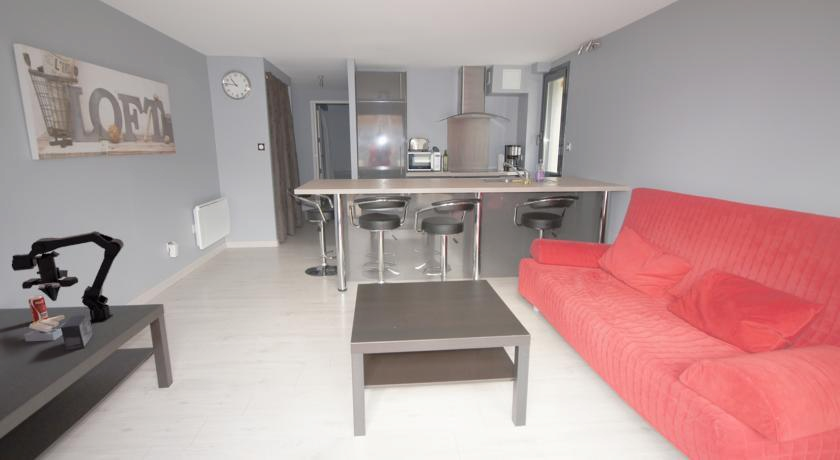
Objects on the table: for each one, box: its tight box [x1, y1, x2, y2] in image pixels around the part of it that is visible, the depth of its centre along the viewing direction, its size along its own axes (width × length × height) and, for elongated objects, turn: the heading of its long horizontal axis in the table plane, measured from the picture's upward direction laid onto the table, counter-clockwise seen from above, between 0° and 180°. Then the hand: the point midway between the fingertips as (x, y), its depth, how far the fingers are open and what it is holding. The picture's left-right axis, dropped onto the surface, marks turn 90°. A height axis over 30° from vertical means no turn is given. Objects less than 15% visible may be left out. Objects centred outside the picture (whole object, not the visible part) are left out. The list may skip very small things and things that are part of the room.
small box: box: [61, 313, 95, 351], centre depth 167 cm, size 11×6×10 cm, turn 21°
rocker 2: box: [37, 319, 60, 328], centre depth 174 cm, size 7×2×2 cm, turn 96°
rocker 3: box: [46, 314, 66, 322], centre depth 177 cm, size 7×2×2 cm, turn 95°
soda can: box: [28, 294, 50, 323], centre depth 186 cm, size 5×5×12 cm
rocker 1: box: [29, 322, 53, 333], centre depth 171 cm, size 7×2×2 cm, turn 96°
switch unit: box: [23, 321, 67, 342], centre depth 175 cm, size 11×11×4 cm
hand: (54, 300), depth 181 cm, fingers closed
